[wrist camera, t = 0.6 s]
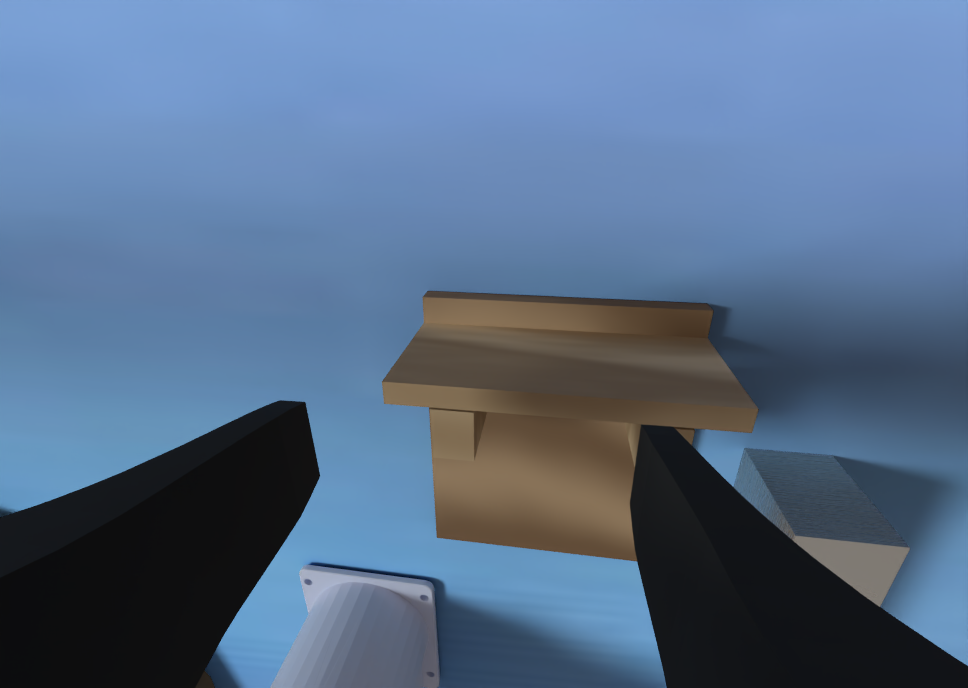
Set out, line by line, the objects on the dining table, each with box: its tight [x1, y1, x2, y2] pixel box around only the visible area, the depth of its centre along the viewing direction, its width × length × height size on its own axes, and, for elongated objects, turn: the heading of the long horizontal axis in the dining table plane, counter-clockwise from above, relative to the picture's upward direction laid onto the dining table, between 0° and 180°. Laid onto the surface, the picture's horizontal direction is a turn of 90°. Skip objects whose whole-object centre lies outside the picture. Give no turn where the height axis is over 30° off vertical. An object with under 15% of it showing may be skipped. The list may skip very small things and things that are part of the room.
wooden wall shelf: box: [382, 291, 759, 561], centre depth 19 cm, size 13×11×6 cm
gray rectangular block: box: [734, 448, 910, 607], centre depth 20 cm, size 9×4×5 cm, turn 0°
